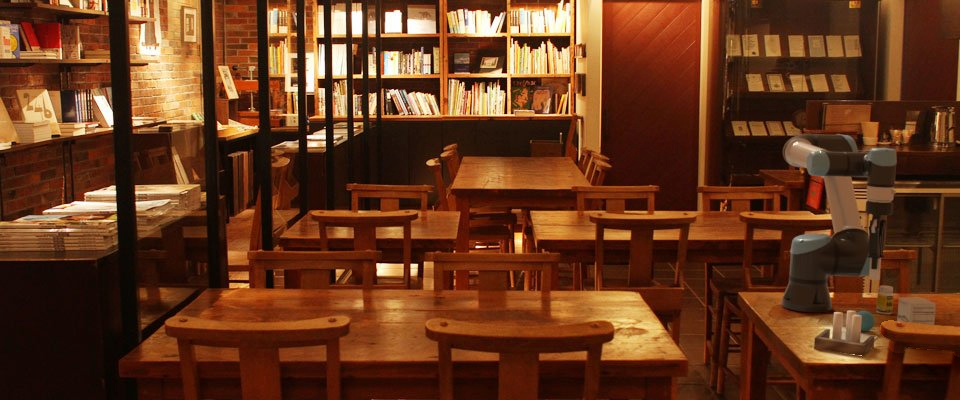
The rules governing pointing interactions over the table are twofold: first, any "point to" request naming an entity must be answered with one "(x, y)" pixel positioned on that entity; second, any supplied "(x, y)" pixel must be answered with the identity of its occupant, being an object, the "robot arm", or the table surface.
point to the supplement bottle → (885, 300)
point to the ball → (866, 320)
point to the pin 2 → (856, 328)
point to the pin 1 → (837, 325)
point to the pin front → (849, 324)
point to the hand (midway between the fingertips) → (874, 279)
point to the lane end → (842, 344)
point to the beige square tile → (862, 338)
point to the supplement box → (916, 310)
